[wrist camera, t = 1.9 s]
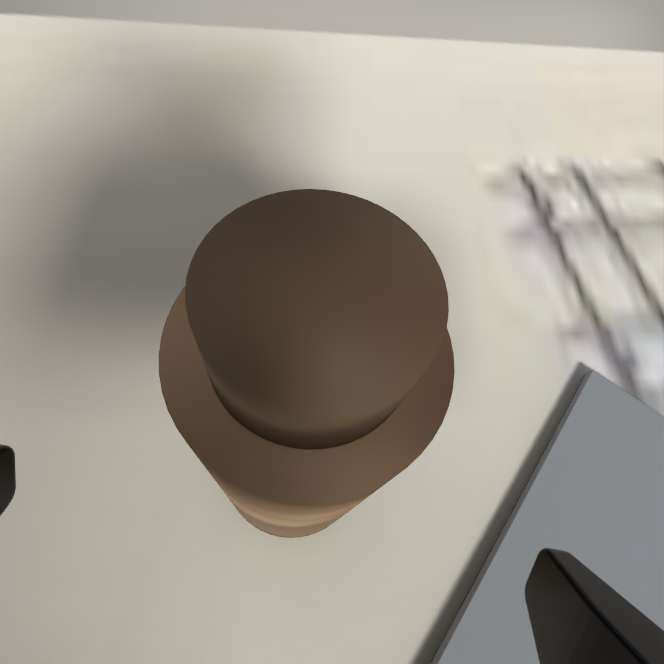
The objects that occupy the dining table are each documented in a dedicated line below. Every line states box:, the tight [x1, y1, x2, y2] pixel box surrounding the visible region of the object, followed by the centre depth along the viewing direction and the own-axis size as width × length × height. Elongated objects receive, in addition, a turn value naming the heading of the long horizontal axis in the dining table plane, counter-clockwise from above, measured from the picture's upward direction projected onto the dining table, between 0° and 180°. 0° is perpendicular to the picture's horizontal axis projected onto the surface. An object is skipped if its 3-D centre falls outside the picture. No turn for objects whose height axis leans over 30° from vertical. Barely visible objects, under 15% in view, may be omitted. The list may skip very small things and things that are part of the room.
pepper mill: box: [159, 189, 454, 538], centre depth 12 cm, size 5×5×13 cm
